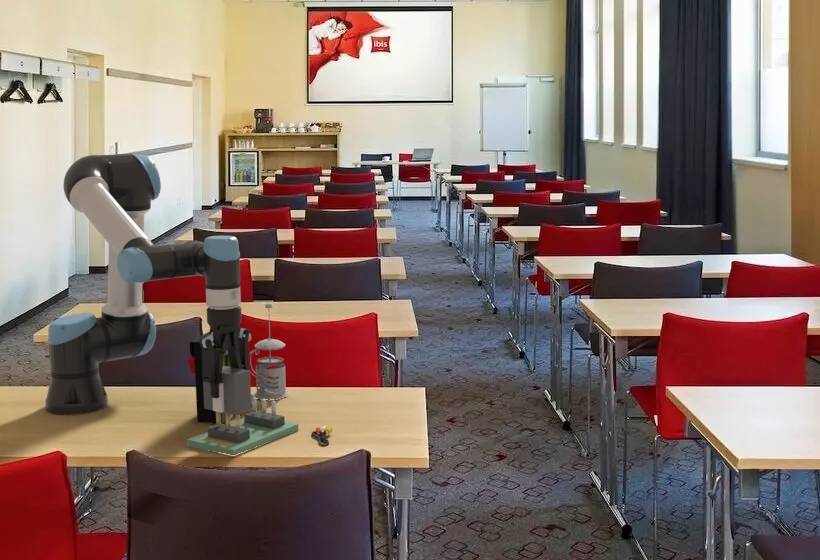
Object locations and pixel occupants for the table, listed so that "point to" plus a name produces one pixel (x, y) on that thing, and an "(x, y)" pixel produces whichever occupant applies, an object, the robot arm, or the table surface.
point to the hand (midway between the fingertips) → (227, 407)
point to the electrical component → (196, 368)
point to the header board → (247, 444)
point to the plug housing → (232, 391)
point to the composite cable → (322, 434)
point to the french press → (270, 370)
